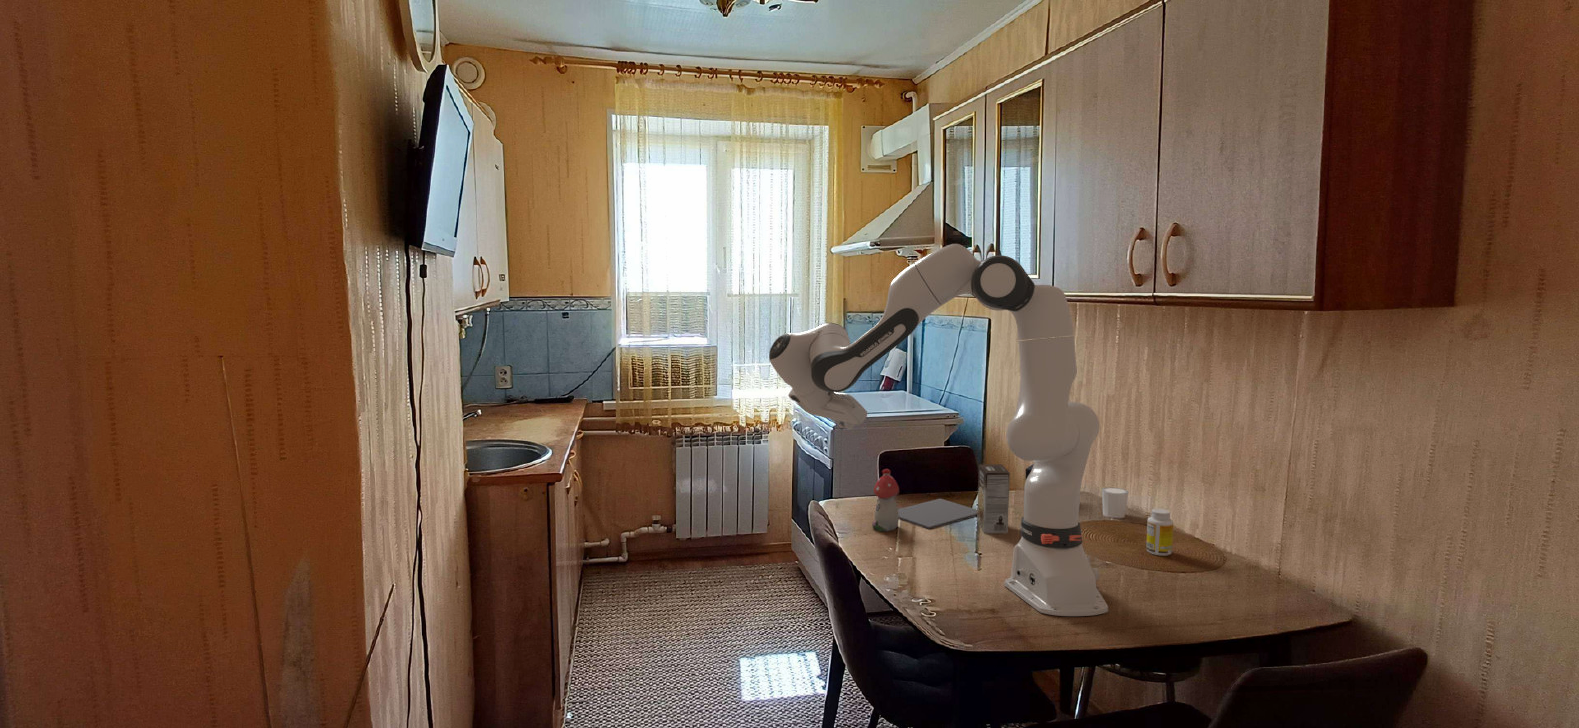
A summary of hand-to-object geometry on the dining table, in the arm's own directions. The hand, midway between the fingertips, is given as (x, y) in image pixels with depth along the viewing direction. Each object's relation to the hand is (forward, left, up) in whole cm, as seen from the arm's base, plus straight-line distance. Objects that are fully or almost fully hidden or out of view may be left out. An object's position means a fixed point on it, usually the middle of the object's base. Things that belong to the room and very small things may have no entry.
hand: (848, 426), depth 187 cm
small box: (+34, -61, -30) cm, 76 cm away
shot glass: (+19, -76, -30) cm, 84 cm away
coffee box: (+10, -39, -30) cm, 50 cm away
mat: (+22, -27, -29) cm, 46 cm away
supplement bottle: (-10, -73, -30) cm, 80 cm away
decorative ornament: (+12, -11, -30) cm, 34 cm away
